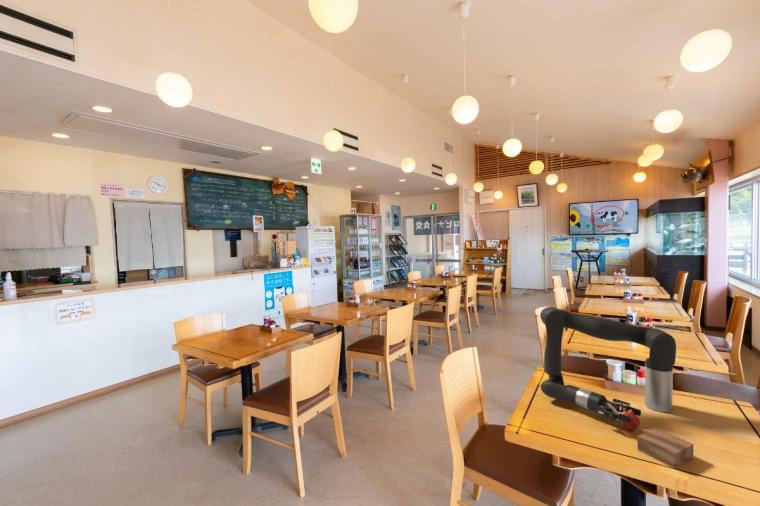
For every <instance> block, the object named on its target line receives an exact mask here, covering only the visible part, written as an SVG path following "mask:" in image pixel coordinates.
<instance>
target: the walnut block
mask: <svg viewBox="0 0 760 506" xmlns="http://www.w3.org/2000/svg"><path fill="white" fill-rule="evenodd" d="M694 446H695V445H694V443H692V442H689V441H687V440H685V439H682V438H680V437H678V436H675V435H673V434H671V433H669V432H667V431H664V430H662V429H660V428H658V427H655V428H654V429H653V428H652V429H651V430H648V431H647V432H644V433H642V434H639V435H637V451H639V452H641V453H642V452H643V454H644V453H645V455H646V454H647V456H648V455H649V456H648V457H650V456H651V457H650V458H652V457H653V458H652V459H654V458H655V459H654V460H656V459H657V460H656V461H658V460H659V461H658V462H660V461H661V462H660V463H662V462H663V463H662V464H664V463H665V464H664V465H666V464H667V465H666V466H668V465H669V466H668V467H670V466H671V467H670V468H672V467H673V468H672V469H674V468H675V469H677V468H679V467H681V466H682V465H681V464H683V465H684V463H685V462H686V463H688V462H690V461H692V460H693V459H694ZM691 459H692V460H691ZM689 460H690V461H689ZM687 461H688V462H687ZM686 463H685V464H686ZM680 465H681V466H680ZM678 466H679V467H678ZM676 467H677V468H676Z"/></svg>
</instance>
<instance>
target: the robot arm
mask: <svg viewBox="0 0 760 506" xmlns="http://www.w3.org/2000/svg"><path fill="white" fill-rule="evenodd" d="M539 316H540V320H541V322H542V323H543V324H544V326H545V331H546V341H545V343H546V344H545V349H544V354H543V355H544V356H543V369H544V372H545V373H546V374H547V375H548V378H547V379H545V380H544V381H542V382H541V384H540V390H541V392H542V393H543V394H544V395H545V396H546V397H549V398H552V399H554V400H555V399H556V400H560V401H567V402H569V403H572V404H573V405H576V406H579V407H581V408H583V409H586V410H589V411H591V412H593V413H595V414H598V416H601V417H604V418H606V419H608V420H610V421H614V422H616V420H617V421H621V420H622V421H625V422H628V423H631V422H632V418H631V417H629V416H626V415H624V413H625V412H627V411H630V410H632V412H633V413H634V414H636V415H637V417H641V416H642V410H641V409H638V408H636V407H633V406H631V403H630V402H627V401H624V400H621V399H618V398H612V400H608V399H607V397H606V395H603V394H601V393H598V392H595V391H593V390H592V391H591V390H589V389H585V388H582V387H578V386H575V385H571V384H567V385H565V382H564V381H565V380H564V378H563V373H562V347H563V346H562V344H563V335H564V330H565V329H570V330H573V331H577V332H579V333H581V334H584V335H587V336H589V337H592V338H596V339H600V340H603V341H604V340H605V341H609V342H610V341H611V342H630V343H635V344H638V345H641V346H644V347H647V348H648V349H649V354H648V355H649V356H648V357H647V358H645V361H644V365H645V366H644V405H645V406H646V408H649V409H651V410H653V411H656V412H659V413H660V412H661V413H669V412H672V411H673V393H674V392H673V391H674V389H673V388H674V387H673V380H674V377H673V375H674V373H673V369H674V365H675V364H676V355H677V342H676V340H675V338H674V337H673V336H672V335H671V334H669V333H667V332H666V331H663V330H662V329H661V328H653V327H647V326H638V325H632V324H628V323H625V322H621V321H618V320H614V319H610V318H604V317H601V316H593V315H587V314H579V313H574V312H570V311H566V310H563V309H560V308H557V307H556V306H555V307H554V306H548V307H545V308H543V309H542V310H541V312H540V315H539ZM622 421H621V422H622Z"/></svg>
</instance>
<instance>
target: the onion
mask: <svg viewBox="0 0 760 506" xmlns="http://www.w3.org/2000/svg"><path fill="white" fill-rule="evenodd" d="M623 414H624V415H626V416H629V417H631V418H632V422H631V423H628V422H625V421H622V420H620V421H621V423H622V424H623V426H624V427H625V428H626V429H628V430H629V431H633V430H636V429H638V428H639V427H640V424H641V421H640V419H639V416H638V415H636V414H634V413H633V412H632V410H630V411H627V412H623Z"/></svg>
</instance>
